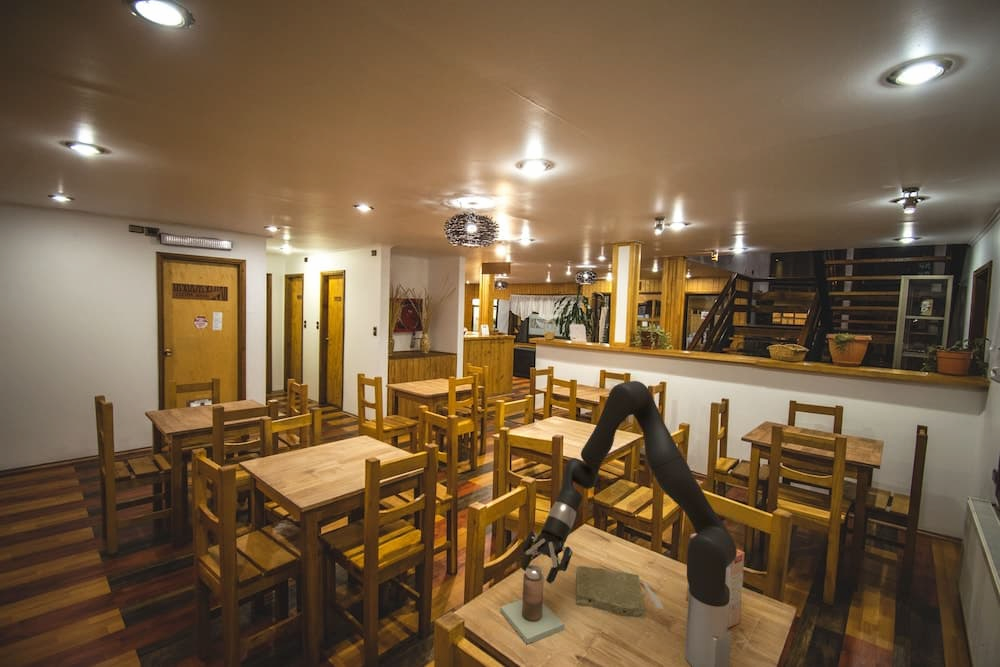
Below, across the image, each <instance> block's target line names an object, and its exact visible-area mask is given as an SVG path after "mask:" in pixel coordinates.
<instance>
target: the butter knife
mask: <svg viewBox="0 0 1000 667" xmlns="http://www.w3.org/2000/svg"><path fill="white" fill-rule="evenodd" d="M641 583H642V585H643V586H644V588H645V589H646V591H647V593H648V595H649V597H650V599H651V601H652V603H653V604H654V606H655V607H656V608H657V609H658V610H664V605H663V604H662V603H661V601H660V600H659V598H658V597H657V595H656V594H655V593H654V591H652V590H651V588H650V587H649V586H648V584H647V582H646V581H642V582H641Z"/></svg>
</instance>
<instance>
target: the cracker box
mask: <svg viewBox="0 0 1000 667" xmlns="http://www.w3.org/2000/svg"><path fill="white" fill-rule="evenodd" d="M695 535H697V534H696V532H695V533H694V532H693V533H692V534H690V537H689V539H690V540H691V539H692V538H693V537H694V536H695ZM690 540H689V541H690ZM736 549H737V555H736V558H735V560H734V561H733V562H732V563H731V564H730V565H729V566H728V567H727V568H726V585H727V586H728V588H729V590H730V600H729V613H728V628H727V629H730V628H731V627H735V626H736V625H739V624H740V622H741V614H742V613H741V611H742V598H743V597H742V596H743V584H744V582H743V581H744V567H745V552H744V551H742V550H740V549H738V548H736ZM686 585H687V586H686V601H688V595H689V583H688V582H687V584H686Z"/></svg>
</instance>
